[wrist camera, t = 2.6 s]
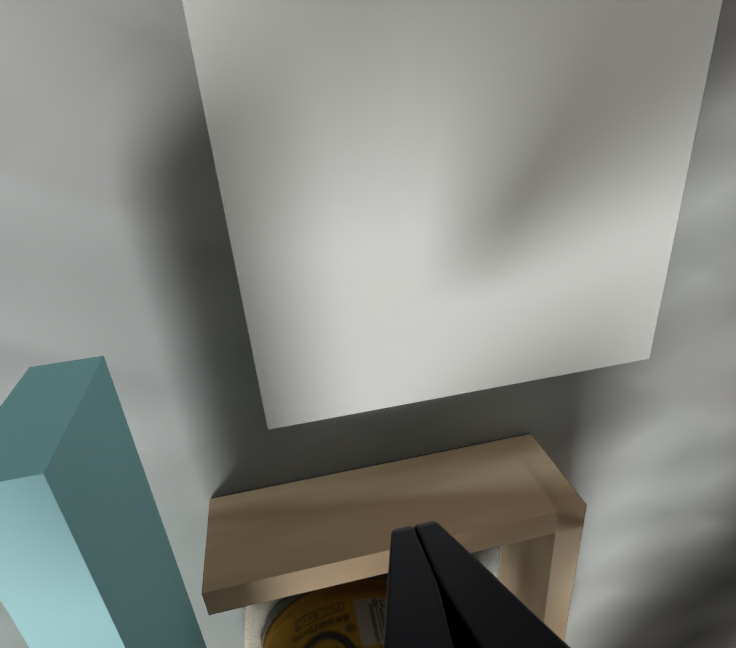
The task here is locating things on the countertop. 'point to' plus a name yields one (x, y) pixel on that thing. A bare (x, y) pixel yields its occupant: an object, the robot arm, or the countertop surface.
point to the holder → (396, 510)
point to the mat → (447, 186)
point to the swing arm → (83, 520)
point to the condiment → (321, 617)
